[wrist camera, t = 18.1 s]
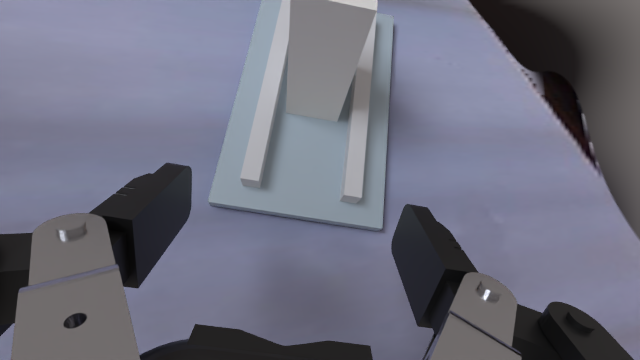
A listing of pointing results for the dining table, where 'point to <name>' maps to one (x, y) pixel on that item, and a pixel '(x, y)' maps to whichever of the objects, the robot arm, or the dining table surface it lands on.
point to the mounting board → (306, 135)
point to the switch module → (325, 53)
